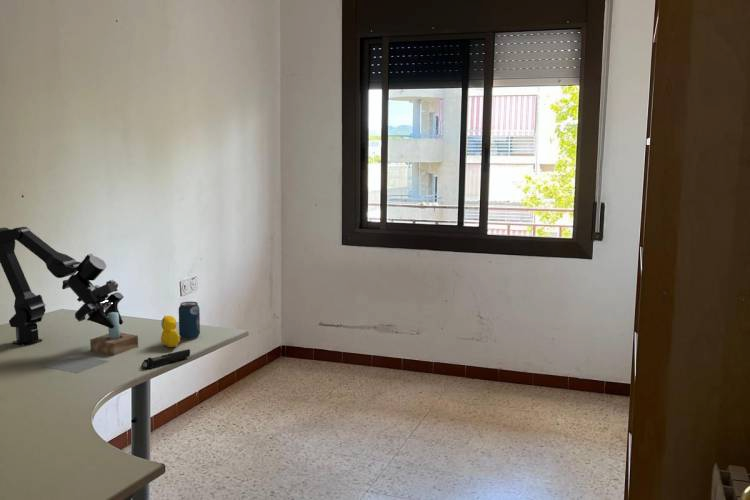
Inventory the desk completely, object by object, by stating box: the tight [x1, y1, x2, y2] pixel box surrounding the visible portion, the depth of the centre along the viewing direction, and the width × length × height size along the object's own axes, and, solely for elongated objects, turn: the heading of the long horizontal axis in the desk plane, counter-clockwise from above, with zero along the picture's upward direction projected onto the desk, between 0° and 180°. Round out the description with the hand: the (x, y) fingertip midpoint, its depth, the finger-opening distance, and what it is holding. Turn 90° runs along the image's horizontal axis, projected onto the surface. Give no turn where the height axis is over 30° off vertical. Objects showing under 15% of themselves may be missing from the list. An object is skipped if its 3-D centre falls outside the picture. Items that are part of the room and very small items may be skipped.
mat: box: [42, 354, 110, 374], centre depth 188 cm, size 14×12×1 cm
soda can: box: [178, 301, 201, 340], centre depth 218 cm, size 7×7×12 cm
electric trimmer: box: [141, 348, 191, 371], centre depth 191 cm, size 4×16×3 cm, turn 139°
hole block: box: [89, 332, 139, 356], centre depth 203 cm, size 10×10×4 cm
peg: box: [107, 312, 120, 340], centre depth 202 cm, size 3×3×12 cm
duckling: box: [160, 315, 181, 348], centre depth 208 cm, size 11×5×10 cm, turn 33°
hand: (117, 325), depth 202 cm, fingers open, 5 cm apart
